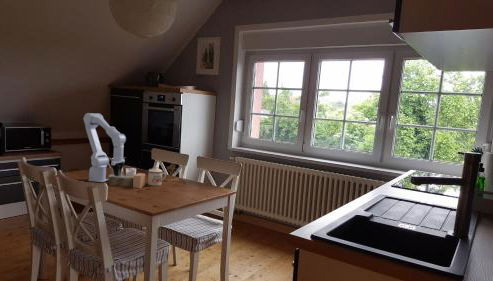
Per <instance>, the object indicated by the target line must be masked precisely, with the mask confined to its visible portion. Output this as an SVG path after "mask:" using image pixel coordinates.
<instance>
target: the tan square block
mask: <svg viewBox="0 0 493 281" xmlns="http://www.w3.org/2000/svg"><path fill="white" fill-rule="evenodd" d="M132 178H133V187H132V188H133V189H134V188H135V189H142V187H146V186H145V185H146V173H142V172H138V173H136V174H134V175H133V176H132Z"/></svg>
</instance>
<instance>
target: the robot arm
mask: <svg viewBox="0 0 493 281" xmlns="http://www.w3.org/2000/svg"><path fill="white" fill-rule="evenodd" d="M83 122H84V126H85V131H86V134H87V138H88V140H89V144H90V147H91V150H92V154H91V156H90V159H91V162H90V163H91V165H92V166H90V168H89V170H88V171H89V174H88V182H97V183H98V182H99V183H103V182H106V181H109V180H108V178H107V177H106V176H107V167H108V165H109V163H110V159H109V157H108V156H107V154H106V152H104V151H103V150H102V146H101V142H100V140H99V139H100V138H99V136H98V133H97V130H96V128H97V127H98V126H99V125H100V127H102V128H103V129H104V131H105V133H106V134H107V135H108V137H110V138H111V141H112V145H113V156H112V157H113V158H112V161H111V164H110V166H111V168H112V170H113V175H115V176H118V174H119V169H121V173H120V175H121V174H122V171H123V167H124V166H125V165H126V163H125V161H126V160H125V158H124V147H125V145H124V144H125V143H126V141H127V137H126V135H125V134H124V133H121V132H120V131H118V130H117V129H116V127H115V126H110V125H109V123H108V122H107V120H105V119H104V116H103V115H102V114H101V113H98V112H97V113H92V112H91V113H90V112H87V113H85V114H84V116H83Z"/></svg>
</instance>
